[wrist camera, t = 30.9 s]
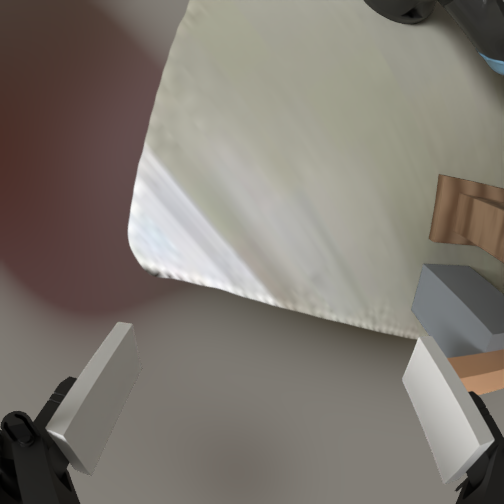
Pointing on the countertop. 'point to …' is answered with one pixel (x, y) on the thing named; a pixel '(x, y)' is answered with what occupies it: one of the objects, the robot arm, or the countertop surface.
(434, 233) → the stand
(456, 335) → the slate block
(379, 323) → the countertop surface
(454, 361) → the rod
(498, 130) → the countertop surface
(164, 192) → the countertop surface
